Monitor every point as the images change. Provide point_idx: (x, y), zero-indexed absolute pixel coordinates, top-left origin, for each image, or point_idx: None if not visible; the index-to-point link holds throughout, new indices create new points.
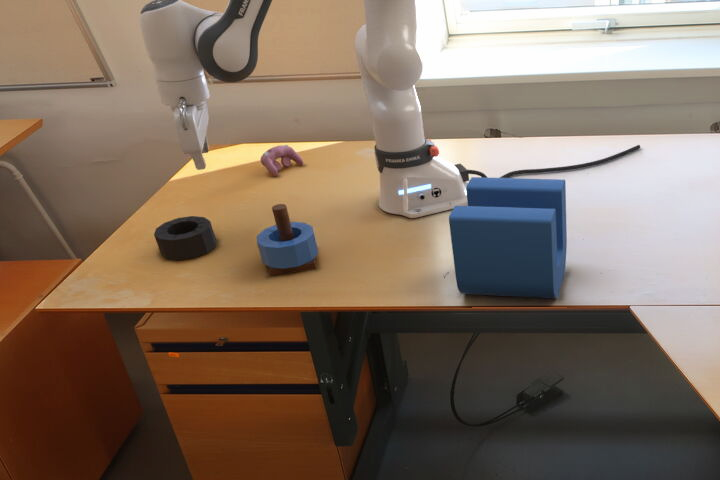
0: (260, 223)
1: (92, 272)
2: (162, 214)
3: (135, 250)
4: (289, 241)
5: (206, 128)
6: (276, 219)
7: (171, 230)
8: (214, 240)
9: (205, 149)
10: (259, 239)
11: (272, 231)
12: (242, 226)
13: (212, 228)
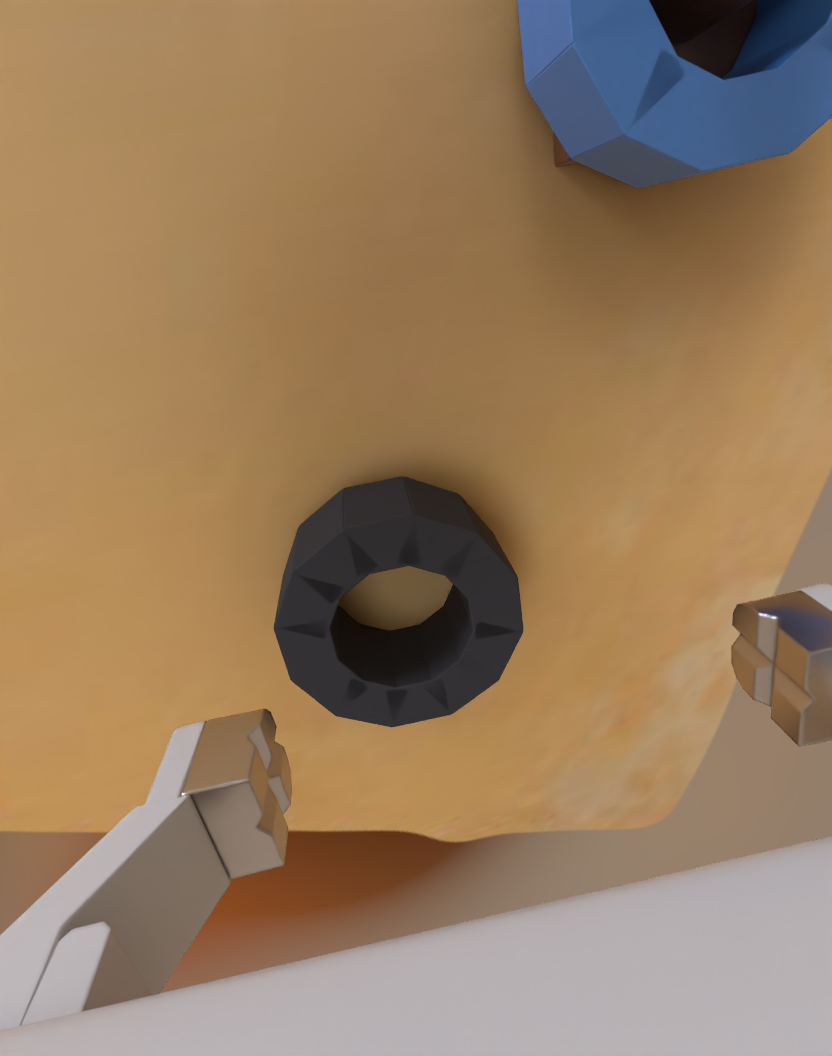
0: (159, 313)
1: (515, 801)
2: (70, 768)
3: (383, 746)
4: None
5: (303, 1031)
6: None
7: (377, 670)
8: (386, 487)
9: (266, 752)
10: (764, 140)
11: (681, 59)
12: (194, 405)
13: (348, 511)
